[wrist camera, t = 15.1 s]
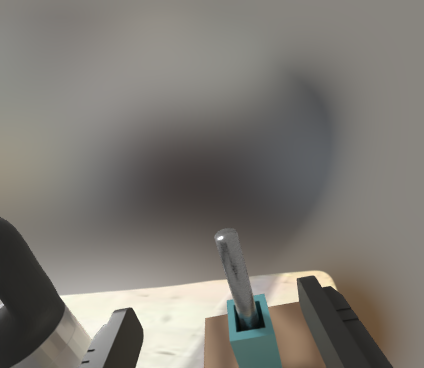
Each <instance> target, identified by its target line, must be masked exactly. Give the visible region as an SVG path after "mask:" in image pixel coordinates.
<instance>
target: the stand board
mask: <svg viewBox="0 0 424 368" xmlns="http://www.w3.org/2000/svg"><path fill="white" fill-rule="evenodd" d="M268 310H269V314H270V317H271V321H272V325H273V329H274V332H275V336H276V341H277V345H278V350H279V355H280V359H281V364H282V368H326V366H325V363H324V361H323V359H322V357H321V354H320V352H319V350H318V348H317V345H316V343H315V341H314V339H313V336H312V334H311V332H310V330H309V327H308V325H307V323H306V320H305V318H304V316H303V313H302V310H301V307H300V303H299V302H295V303H289V304H283V305H278V306H272V307H268ZM204 368H239V366H238V363H237V360H236V358H235V355H234V352H233V349H232V346H231V344H230V338H229V325H228V314H227V315H221V316H215V317H210V318H205V347H204Z"/></svg>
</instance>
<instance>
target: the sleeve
mask: <svg viewBox="0 0 424 368" xmlns="http://www.w3.org/2000/svg"><path fill="white" fill-rule="evenodd" d="M253 297H254V301H255V305H256V309H257V312H258V316H259V320H260V324H261V328H260V329H254V330H248V331H243V329H242V326H241V323H240V319H239V316H238V313H237V310H236V306H235V303H234V300H227V311H228V325H229V338H230V344H231V346H232V349H233V352H234V355H235V358H236V360H237V363H238V366H239V368H282V364H281V359H280V355H279V350H278V345H277V341H276V336H275V332H274V329H273V325H272V321H271V317H270V314H269V310H268V306H267V302H266V299H265V295H264V294H260V295H255V296H253Z"/></svg>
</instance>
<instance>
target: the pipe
mask: <svg viewBox="0 0 424 368" xmlns="http://www.w3.org/2000/svg"><path fill="white" fill-rule="evenodd" d="M215 242H216V244H217V248H218V251H219V255H220V258H221V261H222V264H223V267H224V271H225V274H226V277H227V280H228V284H229V287H230V290H231V293H232V297H233V300H234V303H235V306H236V310H237V313H238V316H239V319H240V323H241V326H242V329H243V331H248V330H254V329H260V328H261V324H260V320H259V316H258V312H257V309H256V305H255V301H254V297H253V293H252V289H251V285H250V281H249V277H248V273H247V270H246V266H245V262H244V258H243V254H242V250H241V246H240V242H239V239H238V234H237V231H236V230H235V229H232V228H226V229H222V230H220V231H219V232H217V233H216V235H215Z"/></svg>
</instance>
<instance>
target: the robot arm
mask: <svg viewBox="0 0 424 368" xmlns="http://www.w3.org/2000/svg"><path fill="white" fill-rule="evenodd" d="M297 286H298V295H299V303H300V307H301V310H302V313H303V316H304V318H305V320H306V323H307V325H308V327H309V330H310V332H311V334H312V336H313V339H314V341H315V343H316V345H317V348H318V350H319V352H320V354H321V357H322V359H323V361H324V363H325V366H326V368H393V367H392V365H391V364H390V363H389V361H388V360H387V358H386V357H385V355H384V354H383V353H382V351H381V350H380V349H379V347H378V345H377V344H376V343H375V342H374V340H373V338H372V337H371V336H370V334H369V333H368V331H367V330H366V329H365V327H364V325H363V324H362V323H361V321H359V319H358V317H357V315H356V314H355V313H354V311H353V310H352V309H351V307H350V306H349V304H348V303H347V301H346V300H345V299H344V297H343V295H341V294H340V293H339V292H337V291H336V290H335V289H334V288H332V287H331V286H328V287H323V288H322V287H321V285H320V284H319V282H318V280H317V279H316V277H315V276H307V277H302V278H297ZM0 300H1V301H2V302H3V304H4V306H3V307H2V308H1V309H0V368H135V367H136V364H137V361H138V357H139V354H140V350H141V347H142V343H143V336H144V335H143V328H142V326H141V324H140V322H139V320H138V318H137V316H136V314H135V312H134V310H133V309H132V308H125V309H119V310H115V311H114V312H113V313H112V315H111V317H110V319H109V321H108V324H106V325H103V327H102V328H101V329H100V330H99V331H98V333H97V334H96V335H95V336H94V338H93V340H92V339H91V338H90V336H89V335H88V334H87V332H86V331H85V330H84V328H83V327H82V326H81V324H80V323H79V322H78V320H77V319H76V318H75V316H74V315H73V314H72V313H71V311H70V310H69V309H68V307H67V306H66V305H65V303H64V302H63V301H62V299H61V298H60V296H59V295H58V293H57V291H56V289H55V288H54V286H53V284H52V282H51V280H50V279H49V277H48V276H47V275H46V273H45V272H44V271H43V269H42V267H41V266H40V265H39V263H38V261H37V260H36V258H35V256H34V255H33V253H32V251H31V250H30V248H29V246H28V245H27V243H26V242H25V240H24V239H23V237H22V236H21V234H20V233H19V232H18V231H17V229H16V228H15V227H14V226H13V225H12V224H10V223H9V222H8V221H7V220H5V219H3V218H1V217H0Z"/></svg>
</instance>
